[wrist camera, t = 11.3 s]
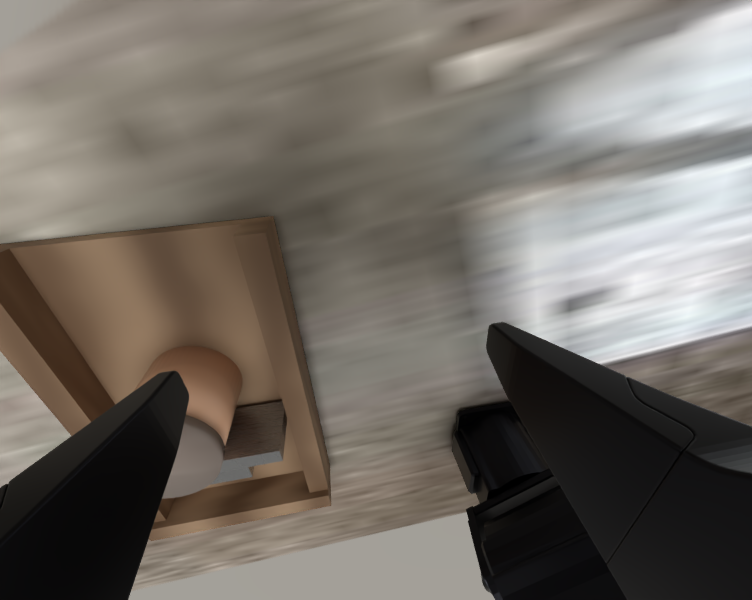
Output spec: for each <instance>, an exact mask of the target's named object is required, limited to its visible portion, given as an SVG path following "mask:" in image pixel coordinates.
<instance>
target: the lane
mask: <svg viewBox="0 0 752 600" xmlns="http://www.w3.org/2000/svg"><path fill="white" fill-rule="evenodd" d="M182 346H200V347H205V348H209V349H213V350H215V351H218V352H220V353H222V354H224V355H225V356H227V357H228V358H230V359H231V360H232V361H233V362H234V363H235V364H236V365H237V367H238V368H239V370H240V372H241V375H242V380H243V383H242V388H241V392H240V395H239V399H238V402H237V406H236V408H243V407H249V406H255V405H261V404H267V403H273V402H280V401H282V402H283V405H284V409H285V412H286V415H287V427H286V436H285V446H284V456H283V461H279V462H274V463H268V464H263V465H257V466H254V472H253V477H250V478H244V479H239V480H233V481H228V482H222V483H217V484H212V485H209V486H207V487H206V488H204V489H202V490H200V491H198V492H196V493H193V494H190V495H186V496H182V497H176V498H166V499H162V500H161V503H160V506H159V509H158V512H157V515H156V518H155V521H154V524H153V527H152V530H151V533H150V536H149V539H150V540H151V541H154V540H159V539H164V538H169V537H174V536H179V535H184V534H189V533H194V532H199V531H204V530H209V529H215V528H220V527H225V526H230V525H235V524H240V523H245V522H250V521H255V520H260V519H265V518H270V517H275V516H281V515H286V514H291V513H296V512H301V511H306V510H311V509H316V508H321V507H326V506H331V486H330V464H329V460H328V455H327V451H326V446H325V442H324V438H323V433H322V429H321V424H320V420H319V416H318V411H317V407H316V402H315V398H314V394H313V389H312V385H311V380H310V376H309V372H308V367H307V363H306V358H305V354H304V350H303V345H302V341H301V336H300V332H299V328H298V323H297V319H296V314H295V310H294V305H293V301H292V297H291V292H290V288H289V283H288V279H287V275H286V270H285V266H284V261H283V257H282V253H281V248H280V244H279V239H278V235H277V231H276V226H275V222H274V217H273V216H269V217H259V218H250V219H240V220H230V221H221V222H211V223H201V224H192V225H182V226H172V227H163V228H153V229H143V230H134V231H124V232H114V233H104V234H95V235H85V236H75V237H66V238H56V239H46V240H37V241H27V242H17V243H8V244H0V351H1V352H2V353H3V355H4V356H5V357H6V358H7V359H8V361H9V362H10V363H11V364H12V365H13V367H14V368H15V369H16V370H17V371H18V373H19V374H20V375H21V376H22V377H23V378H24V380H25V381H26V382H27V383H28V384H29V386H30V387H31V388H32V389H33V390H34V392H35V393H36V394H37V395H38V396H39V398H40V399H41V400H42V401H43V402H44V404H45V405H46V406H47V407H48V408H49V409H50V411H51V412H52V413H53V414H54V415H55V417H56V418H57V419H58V420H59V421H60V423H61V424H62V425H63V426H64V427H65V429H66V430H67V431H68V432H69V433H70V434H71V436H73V435H74V434H75V433H77V432H78V431H80V430H81V429H82V428H84V427H85V426H86V425H88V424H89V423H91V422H92V421H93V420H95V419H96V418H97V417H99V416H100V415H102V414H103V413H104V412H106V411H107V410H109V409H110V408H111V407H113V406H114V405H115V404H117V403H118V402H120V401H121V400H122V399H124V398H125V397H126V396H128V395H129V394H131V393H132V392H133V391H134V389H135V388H136V387H137V385H138V384H139V382H140V381H141V379H142V378H143V376H144V375H145V373H146V372H147V370H148V369H149V367H150V366H151V364H152V363H153V361H154V360H155V359H156V358H157V357H158V356H159V355H161V354H162V353H164V352H166V351H168V350H170V349H173V348H177V347H182Z"/></svg>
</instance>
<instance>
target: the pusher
mask: <svg viewBox="0 0 752 600" xmlns="http://www.w3.org/2000/svg"><path fill="white" fill-rule="evenodd" d="M286 427H287V415H286V412H285V409H284V405H283V402H282V401H280V402H273V403H267V404H261V405H255V406H249V407H243V408H236V410H235V413H234V417H233V420H232V424H231V427H230V431H229V434H228V438H227V442H226V445H225V456H224V459H223V463H222V467H221V470H220V473H219V475H218V477H217V478H216V479H215V480H214V481H213V482H212V483H211V484H210V485H212V484H217V483H222V482H228V481H233V480H239V479H244V478H250V477H253V472H254V466H257V465H263V464H268V463H274V462H279V461H283V456H284V446H285V436H286Z"/></svg>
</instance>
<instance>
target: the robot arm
mask: <svg viewBox="0 0 752 600" xmlns="http://www.w3.org/2000/svg"><path fill="white" fill-rule="evenodd" d="M486 349H487V353H488V355H489V358H490V360H491V362H492V364H493V366H494V369H495V371H496V373H497V375H498V378H499V380H500V382H501V384H502V386H503V389H504V391H505V393H506V395H507V397H508V398H509V400H510V402H508V403H502V404H496V405H491V406H485V407H479V408H473V409H468V410H462V411H460V412H459V413H458V414H457V423H456V431H455V432H454V434H453V445H452V452H453V454H454V457H455V459H456V462H457V464H458V467H459V469H460V472H461V474H462V477H463V479H464V482H465V484H466V487H467V489H468V491H469V492H470V493H471V494H473V493H476V495H477V497H478V499H479V502H480V504H478V505H476V506H474V507H473V506H471V507H469V508H467V509H466V511H467V515H468V519H469V521H468V523H469V527H470V531H471V535H472V539H473V543H474V547H475V551H476V554H477V558H478V562H479V566H480V570H481V576H482V582H483V585H484V587H485V589H486V590H487V591H488V592H490V593H491V594H492V595H493V596H494V598H495V600H752V426H749V425H747V424H744V423H741V422H739V421H736V420H734V419H731V418H728V417H726V416H723V415H720V414H718V413H715V412H713V411H710V410H707V409H705V408H702V407H700V406H697V405H694V404H692V403H689V402H687V401H684V400H682V399H679V398H677V397H674V396H672V395H669V394H667V393H664V392H662V391H660V390H657V389H655V388H652V387H650V386H648V385H645V384H643V383H641V382H639V381H636V380H634V379H632V378H630V377H625V375H623V374H620V373H618V372H616V371H614V370H611V369H609V368H607V367H605V366H602V365H600V364H598V363H595V362H593V361H591V360H589V359H586V358H584V357H582V356H580V355H577V354H575V353H573V352H571V351H568V350H566V349H564V348H561V347H559V346H557V345H555V344H552V343H550V342H548V341H546V340H543V339H541V338H539V337H536V336H534V335H532V334H530V333H527V332H525V331H523V330H521V329H518V328H516V327H514V326H512V325H509V324H507V323H505V322H500V323H493V324H491V325H490V326H489V329H488V336H487V343H486ZM188 403H189V392H188V390H187V388H186V386H185V384H184V382H183V380H182V378H181V376H180V374H179V373H178V372H177V371H174V370H173V371H166V372H161V373H158V374H157V375H155V376H154V377H153V378H151V379H150V380H149V381H147V382H146V383H144V384H143V385H142V386H140V387H139V388H138V389H136V390H135V391H133V392H132V393H131V394H129V395H128V396H126V397H125V398H124V399H122V400H121V401H120V402H118V403H117V404H115V405H114V406H113V407H111V408H110V409H109V410H107V411H106V412H104V413H103V414H102V415H100V416H99V417H97V418H96V419H95V420H93V421H92V422H91V423H89V424H88V425H86V426H85V427H84V428H82V429H81V430H80V431H78V432H77V433H75V434H74V435H73V436H71V437H70V438H68V439H67V440H66V441H64V442H63V443H62V444H60V445H59V446H57V447H56V448H55V449H53V450H52V451H51V452H49V453H48V454H46V455H45V456H44V457H42V458H41V459H39V460H38V461H37V462H35V463H34V464H33V465H31V466H30V467H28V468H27V469H26V470H24V471H23V472H22V473H20V474H19V475H17V476H16V477H15V478H13V479H12V480H11V481H10V482H9V484H5V485H3V486H2V487H1V488H0V600H128V598H129V595H130V592H131V589H132V586H133V583H134V580H135V577H136V574H137V571H138V569H139V566H140V563H141V560H142V557H143V554H144V551H145V548H146V545H147V542H148V539H149V536H150V533H151V530H152V527H153V524H154V521H155V518H156V515H157V512H158V509H159V506H160V503H161V500H162V497H163V494H164V491H165V488H166V485H167V482H168V479H169V477H170V474H171V471H172V468H173V465H174V462H175V458H176V455H177V452H178V448H179V444H180V439H181V435H182V430H183V426H184V421H185V416H186V412H187V407H188Z"/></svg>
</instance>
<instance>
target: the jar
mask: <svg viewBox="0 0 752 600" xmlns="http://www.w3.org/2000/svg"><path fill="white" fill-rule="evenodd" d="M173 370H174V371H177V372H178V373H179V374H180V376H181V378H182V380H183V382H184V384H185V386H186V388H187V390H188V392H189V403H188V407H187V412H186V416H185V421H184V426H183V430H182V435H181V439H180V444H179V448H178V452H177V455H176V458H175V462H174V465H173V468H172V471H171V474H170V477H169V479H168V482H167V485H166V488H165V491H164V494H163V497H162V499H166V498H176V497H182V496H186V495H190V494H193V493H196V492H198V491H200V490H202V489H204V488H206V487H207V486H209V485H210V484H211V483H212V482H213V481H214V480H215V479H216V478H217V477H218V475H219V473H220V470H221V467H222V463H223V459H224V456H225V445H226V442H227V438H228V434H229V431H230V427H231V424H232V420H233V417H234V413H235V410H236V406H237V402H238V399H239V395H240V392H241V388H242V383H243V380H242V375H241V372H240V370H239V368H238V367H237V365H236V364H235V363H234V362H233V361H232V360H231V359H230V358H228V357H227V356H225V355H224V354H222V353H220V352H218V351H215V350H213V349H209V348H205V347H200V346H182V347H177V348H173V349H170V350H168V351H166V352H164V353H162V354H161V355H159V356H158V357H157V358H156V359H155V360H154V361H153V363H152V364H151V366H150V367H149V369H148V370H147V372H146V373H145V375H144V376H143V378H142V379H141V381H140V382H139V384H138V385H137V387H136V388H135V389H134V391H135V390H136V389H138V388H139V387H140V386H142V385H143V384H144V383H146V382H147V381H149V380H150V379H151V378H153V377H154V376H155V375H157V374H158V373H161V372H166V371H173Z"/></svg>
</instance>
